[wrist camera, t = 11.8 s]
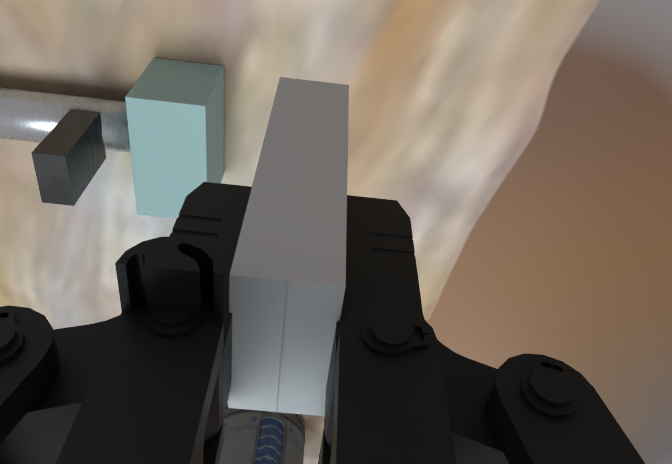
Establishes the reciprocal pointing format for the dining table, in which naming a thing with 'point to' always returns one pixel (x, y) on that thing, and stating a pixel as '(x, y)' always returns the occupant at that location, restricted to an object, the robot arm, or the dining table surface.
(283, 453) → the beverage bottle
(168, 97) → the pale blue rectangular block
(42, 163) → the block with metal shaft
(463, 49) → the dining table surface
